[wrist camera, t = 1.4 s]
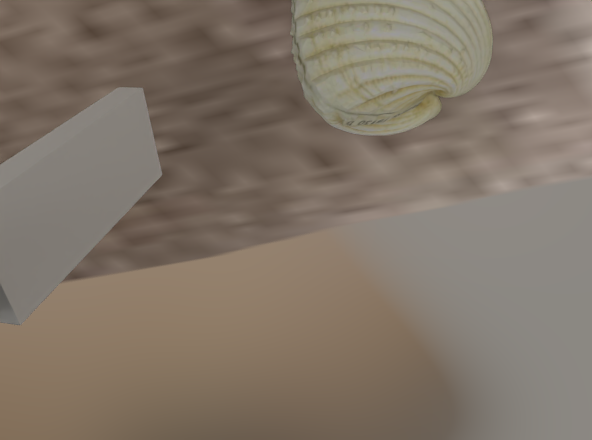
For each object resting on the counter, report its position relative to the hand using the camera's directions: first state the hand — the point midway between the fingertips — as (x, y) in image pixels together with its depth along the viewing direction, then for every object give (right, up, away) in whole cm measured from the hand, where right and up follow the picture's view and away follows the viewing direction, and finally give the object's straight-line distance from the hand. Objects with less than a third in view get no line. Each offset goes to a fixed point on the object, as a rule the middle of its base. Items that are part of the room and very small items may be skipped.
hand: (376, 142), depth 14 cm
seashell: (+2, +7, +11) cm, 13 cm away
